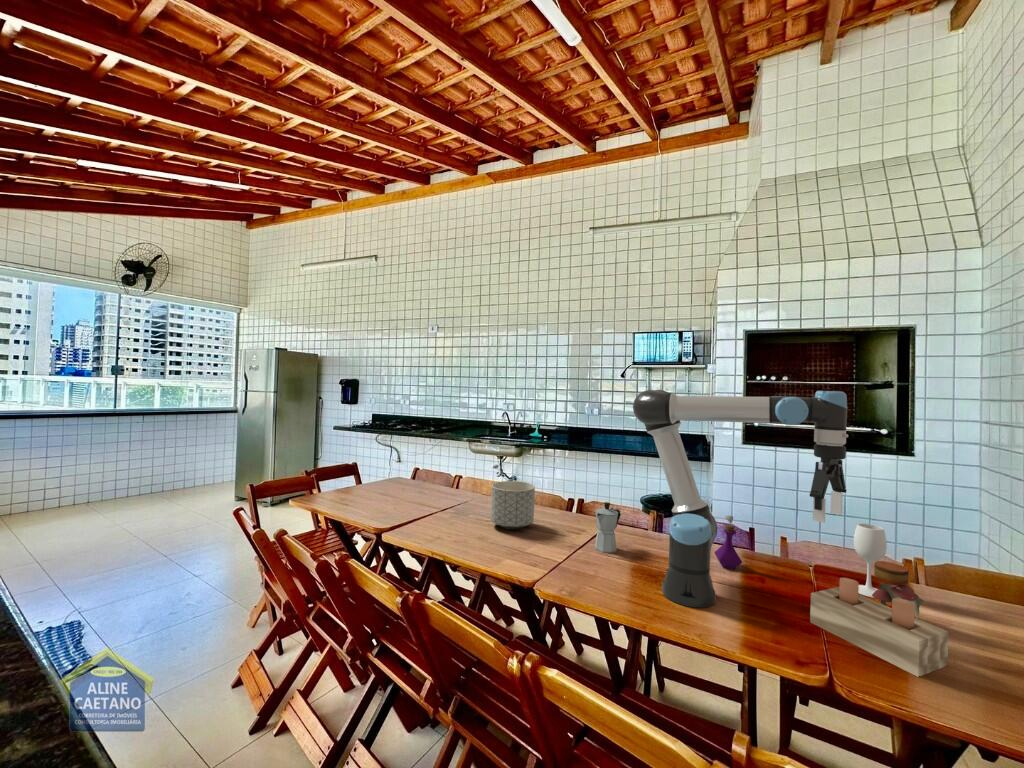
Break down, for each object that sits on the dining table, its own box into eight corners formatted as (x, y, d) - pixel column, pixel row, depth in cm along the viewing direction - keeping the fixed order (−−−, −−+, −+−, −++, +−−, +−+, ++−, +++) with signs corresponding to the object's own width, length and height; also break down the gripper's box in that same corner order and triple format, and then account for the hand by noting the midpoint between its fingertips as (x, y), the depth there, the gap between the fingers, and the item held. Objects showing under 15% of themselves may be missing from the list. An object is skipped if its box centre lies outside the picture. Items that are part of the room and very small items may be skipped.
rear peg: (851, 612, 114) (852, 585, 114) (835, 604, 118) (836, 578, 118) (861, 609, 116) (862, 583, 116) (845, 602, 120) (845, 576, 120)
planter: (507, 517, 207) (508, 479, 207) (541, 526, 196) (542, 485, 196) (481, 527, 192) (483, 485, 192) (517, 537, 180) (518, 493, 180)
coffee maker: (604, 556, 163) (606, 507, 163) (586, 549, 170) (587, 502, 170) (628, 547, 173) (629, 501, 173) (609, 540, 179) (611, 497, 179)
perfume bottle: (742, 571, 153) (743, 519, 153) (719, 569, 154) (720, 518, 154) (735, 563, 160) (737, 513, 160) (713, 560, 162) (715, 512, 162)
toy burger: (908, 636, 115) (909, 579, 115) (854, 612, 126) (856, 560, 126) (932, 627, 119) (933, 572, 119) (878, 605, 131) (879, 555, 131)
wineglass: (878, 601, 134) (880, 532, 134) (845, 589, 142) (847, 524, 142) (891, 595, 138) (893, 528, 138) (859, 584, 146) (861, 521, 146)
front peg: (907, 637, 103) (908, 607, 103) (887, 628, 107) (888, 599, 107) (917, 634, 105) (918, 604, 105) (897, 625, 108) (898, 597, 108)
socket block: (918, 677, 98) (919, 641, 98) (810, 622, 120) (810, 593, 120) (947, 665, 103) (948, 631, 103) (838, 614, 125) (839, 586, 125)
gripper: (829, 448, 117) (827, 528, 117) (859, 443, 132) (857, 514, 131) (797, 444, 123) (795, 520, 123) (830, 440, 138) (828, 508, 137)
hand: (827, 517), depth 127 cm, fingers open, 13 cm apart
